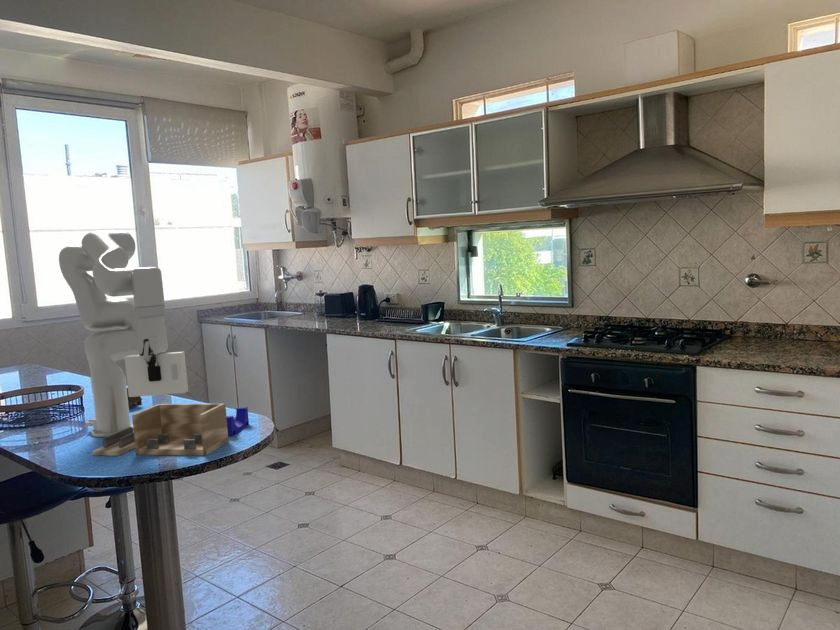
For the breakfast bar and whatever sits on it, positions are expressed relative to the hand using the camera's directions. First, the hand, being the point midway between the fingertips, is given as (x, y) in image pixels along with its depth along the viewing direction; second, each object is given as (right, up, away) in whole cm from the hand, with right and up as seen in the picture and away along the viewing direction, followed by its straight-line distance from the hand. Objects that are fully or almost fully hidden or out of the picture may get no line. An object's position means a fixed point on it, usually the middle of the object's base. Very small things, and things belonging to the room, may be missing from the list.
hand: (157, 379), depth 173 cm
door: (0, -4, 0) cm, 4 cm away
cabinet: (+6, -19, +3) cm, 21 cm away
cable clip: (+16, -18, +18) cm, 30 cm away
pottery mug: (-35, -17, +58) cm, 70 cm away
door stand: (-12, -20, +9) cm, 25 cm away
